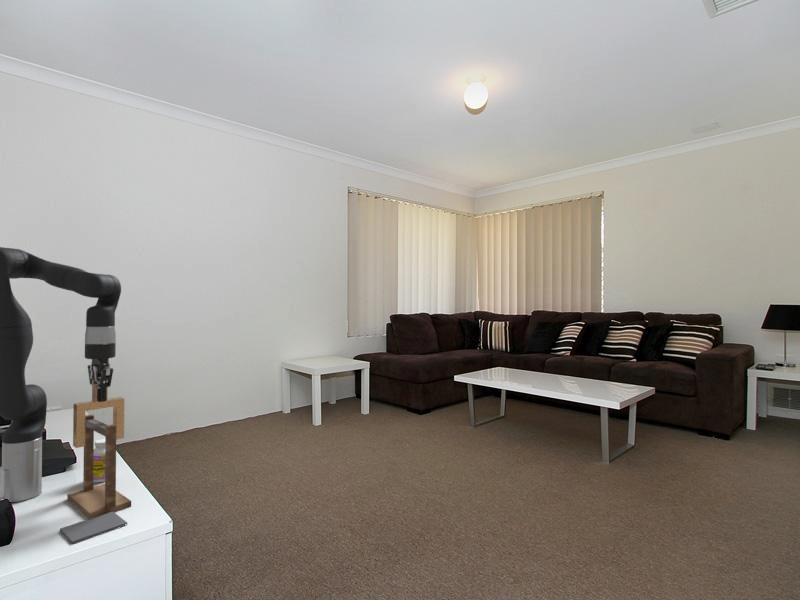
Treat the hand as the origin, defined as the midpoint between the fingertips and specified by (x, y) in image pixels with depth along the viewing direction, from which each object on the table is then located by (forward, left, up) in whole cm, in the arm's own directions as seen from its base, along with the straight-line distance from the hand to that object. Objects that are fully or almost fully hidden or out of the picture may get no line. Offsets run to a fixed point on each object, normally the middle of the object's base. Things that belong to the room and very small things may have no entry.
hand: (99, 400), depth 130 cm
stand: (0, 0, -30) cm, 30 cm away
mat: (-6, -16, -30) cm, 34 cm away
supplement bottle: (+7, +19, -30) cm, 36 cm away
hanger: (0, 0, -12) cm, 12 cm away
